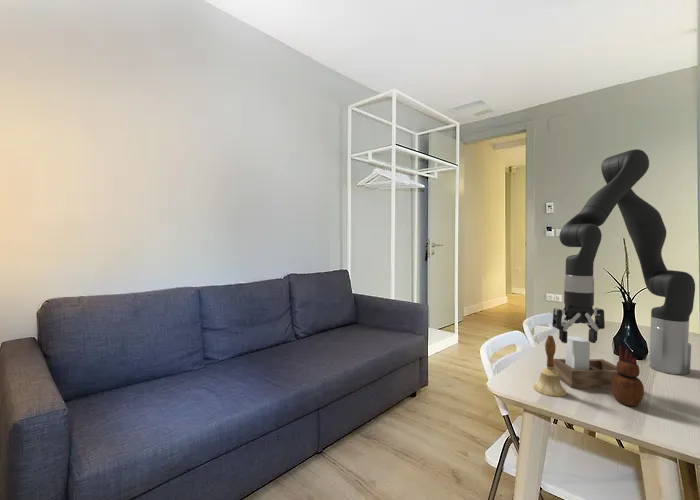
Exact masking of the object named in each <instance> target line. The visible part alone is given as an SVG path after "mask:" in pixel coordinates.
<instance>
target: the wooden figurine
mask: <svg viewBox="0 0 700 500" xmlns="http://www.w3.org/2000/svg"><path fill="white" fill-rule="evenodd" d="M615 366H616V369H617V371H618V373H615V374H614V375H613V377H612V382H611V388H610V389H611V392H612V395H613V397H614V399H615V400H616V401H617V402H618V403H620V404H622V405H624V406H628V407H637V406H639V405H641V402H642V401H643V398H644V395H645V387H644V384H643V382H642V381H641V379H640V378H639V376H640V367H639V364H638V362H637V357H633V353H629V349H628V348H626V349H625V352H624V351H623V347H622V345H619V350H618V361H617V363H616V365H615Z"/></svg>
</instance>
